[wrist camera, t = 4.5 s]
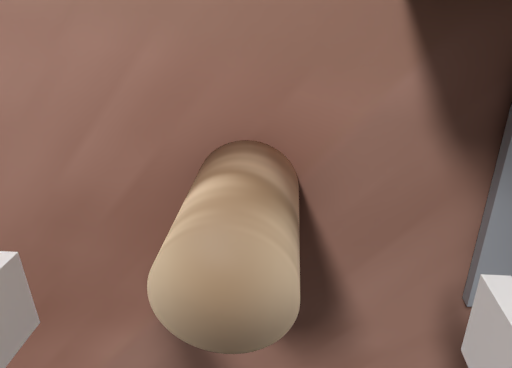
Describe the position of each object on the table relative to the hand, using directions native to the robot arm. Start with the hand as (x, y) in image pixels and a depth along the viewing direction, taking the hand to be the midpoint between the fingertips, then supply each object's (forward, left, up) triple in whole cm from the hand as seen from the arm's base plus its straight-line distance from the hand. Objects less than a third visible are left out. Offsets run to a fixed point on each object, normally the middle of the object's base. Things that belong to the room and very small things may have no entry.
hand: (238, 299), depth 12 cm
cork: (0, 0, -7) cm, 7 cm away
